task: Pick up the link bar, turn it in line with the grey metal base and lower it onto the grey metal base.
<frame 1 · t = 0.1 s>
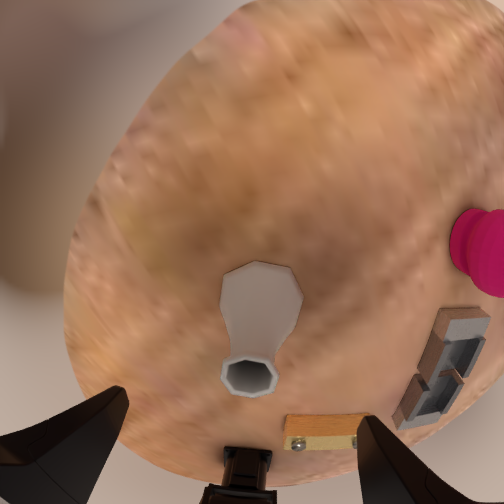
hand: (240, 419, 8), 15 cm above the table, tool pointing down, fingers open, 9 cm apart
flask: (261, 299, 23), on the table
link bar: (326, 421, 27), on the table
pepper mill: (470, 240, 20), on the table
grey metal base: (436, 368, 23), on the table
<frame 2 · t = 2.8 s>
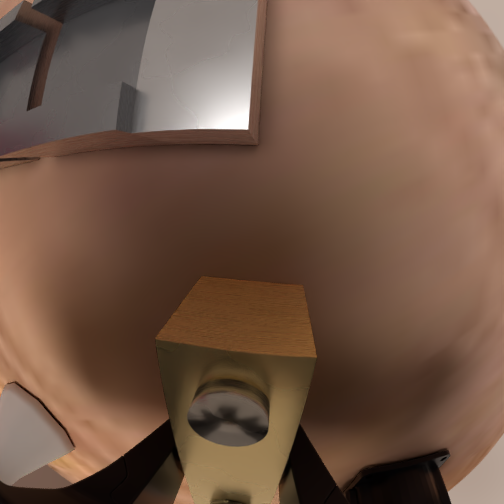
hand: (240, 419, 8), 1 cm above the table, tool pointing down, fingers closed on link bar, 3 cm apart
flask: (40, 414, 13), on the table
link bar: (243, 399, 9), on the table, touching gripper
grey metal base: (56, 80, 7), on the table
when the fingers open (3 cm above the table, at t = 6.3 s): link bar drops 1 cm, resting on grey metal base.
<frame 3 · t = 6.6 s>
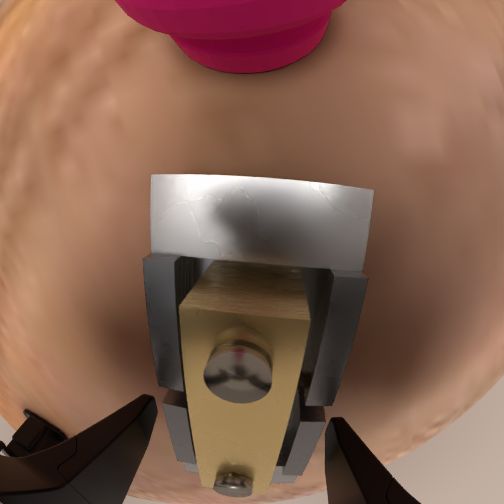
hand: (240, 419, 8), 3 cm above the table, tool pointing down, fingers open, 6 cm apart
link bar: (247, 376, 11), point 1 cm above the table, touching grey metal base
pepper mill: (249, 16, 8), on the table
grey metal base: (250, 362, 12), on the table
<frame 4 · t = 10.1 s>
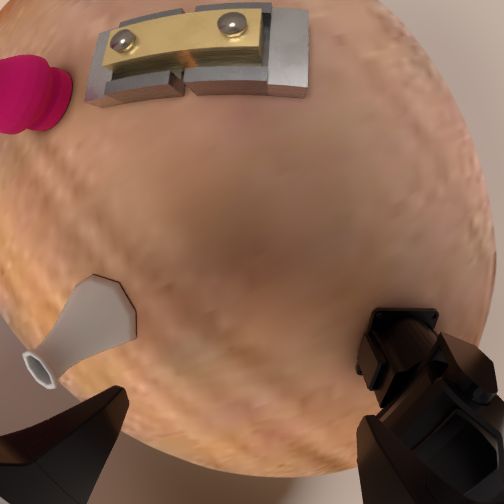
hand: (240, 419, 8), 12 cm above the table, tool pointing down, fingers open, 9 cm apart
flask: (106, 309, 22), on the table
link bar: (191, 53, 15), point 1 cm above the table, touching grey metal base
pepper mill: (52, 100, 17), on the table
grey metal base: (195, 58, 16), on the table
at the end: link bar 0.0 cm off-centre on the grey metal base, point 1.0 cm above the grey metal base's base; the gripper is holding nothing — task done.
